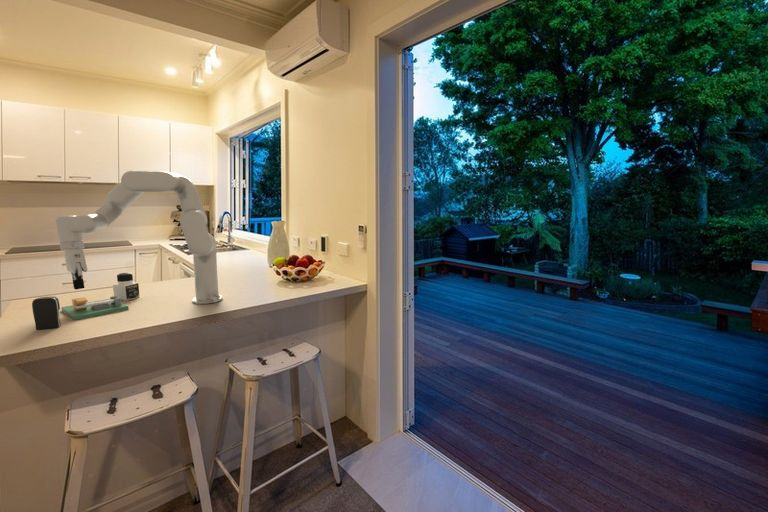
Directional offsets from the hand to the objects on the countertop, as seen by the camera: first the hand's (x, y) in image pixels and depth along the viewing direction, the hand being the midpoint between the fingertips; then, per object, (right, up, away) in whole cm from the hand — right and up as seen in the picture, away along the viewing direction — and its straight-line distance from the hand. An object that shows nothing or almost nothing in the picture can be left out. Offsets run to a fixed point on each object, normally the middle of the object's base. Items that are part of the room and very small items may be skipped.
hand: (79, 288), depth 157 cm
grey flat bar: (+10, -7, -3) cm, 12 cm away
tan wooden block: (+6, -8, -6) cm, 12 cm away
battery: (+7, -13, -21) cm, 25 cm away
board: (+7, -9, 0) cm, 11 cm away
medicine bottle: (+8, -6, +18) cm, 20 cm away
